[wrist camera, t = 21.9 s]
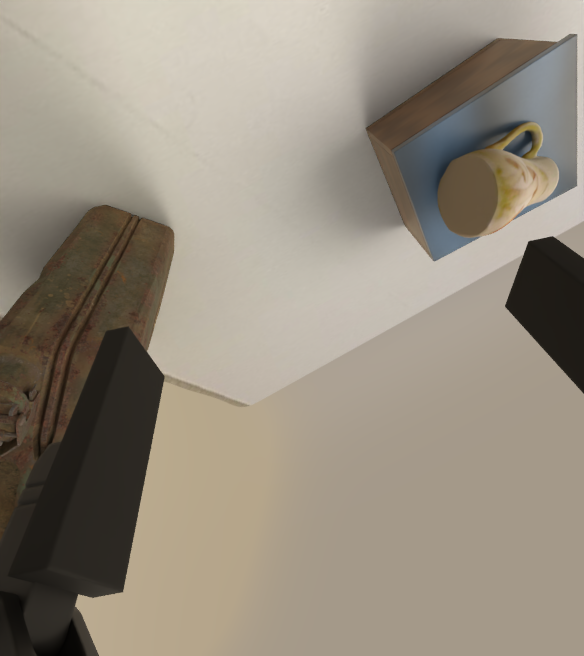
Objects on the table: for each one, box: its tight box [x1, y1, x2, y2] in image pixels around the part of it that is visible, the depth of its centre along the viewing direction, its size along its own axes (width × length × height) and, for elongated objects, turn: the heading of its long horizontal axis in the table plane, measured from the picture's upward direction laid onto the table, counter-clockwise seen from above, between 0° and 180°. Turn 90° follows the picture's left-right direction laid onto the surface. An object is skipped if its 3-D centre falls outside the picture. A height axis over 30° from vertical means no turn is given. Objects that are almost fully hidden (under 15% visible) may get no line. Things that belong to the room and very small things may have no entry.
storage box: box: [366, 38, 557, 257], centre depth 36 cm, size 14×14×8 cm
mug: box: [437, 122, 559, 238], centre depth 30 cm, size 8×10×10 cm
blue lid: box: [391, 34, 577, 261], centre depth 32 cm, size 15×14×1 cm
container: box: [0, 205, 174, 540], centre depth 35 cm, size 22×10×30 cm, turn 155°
